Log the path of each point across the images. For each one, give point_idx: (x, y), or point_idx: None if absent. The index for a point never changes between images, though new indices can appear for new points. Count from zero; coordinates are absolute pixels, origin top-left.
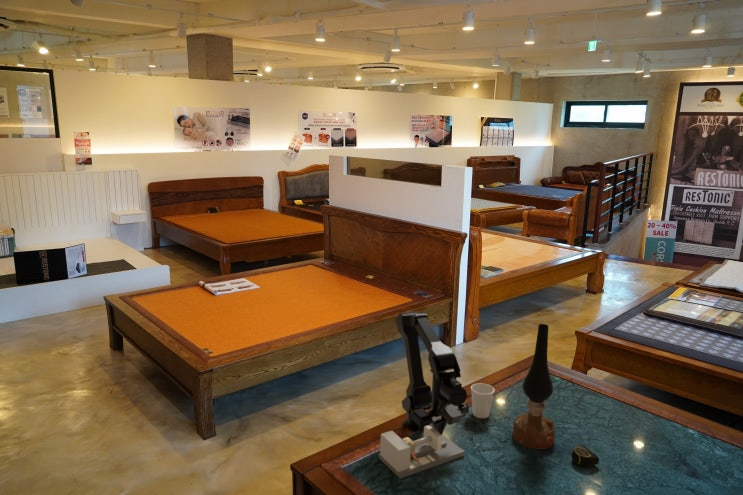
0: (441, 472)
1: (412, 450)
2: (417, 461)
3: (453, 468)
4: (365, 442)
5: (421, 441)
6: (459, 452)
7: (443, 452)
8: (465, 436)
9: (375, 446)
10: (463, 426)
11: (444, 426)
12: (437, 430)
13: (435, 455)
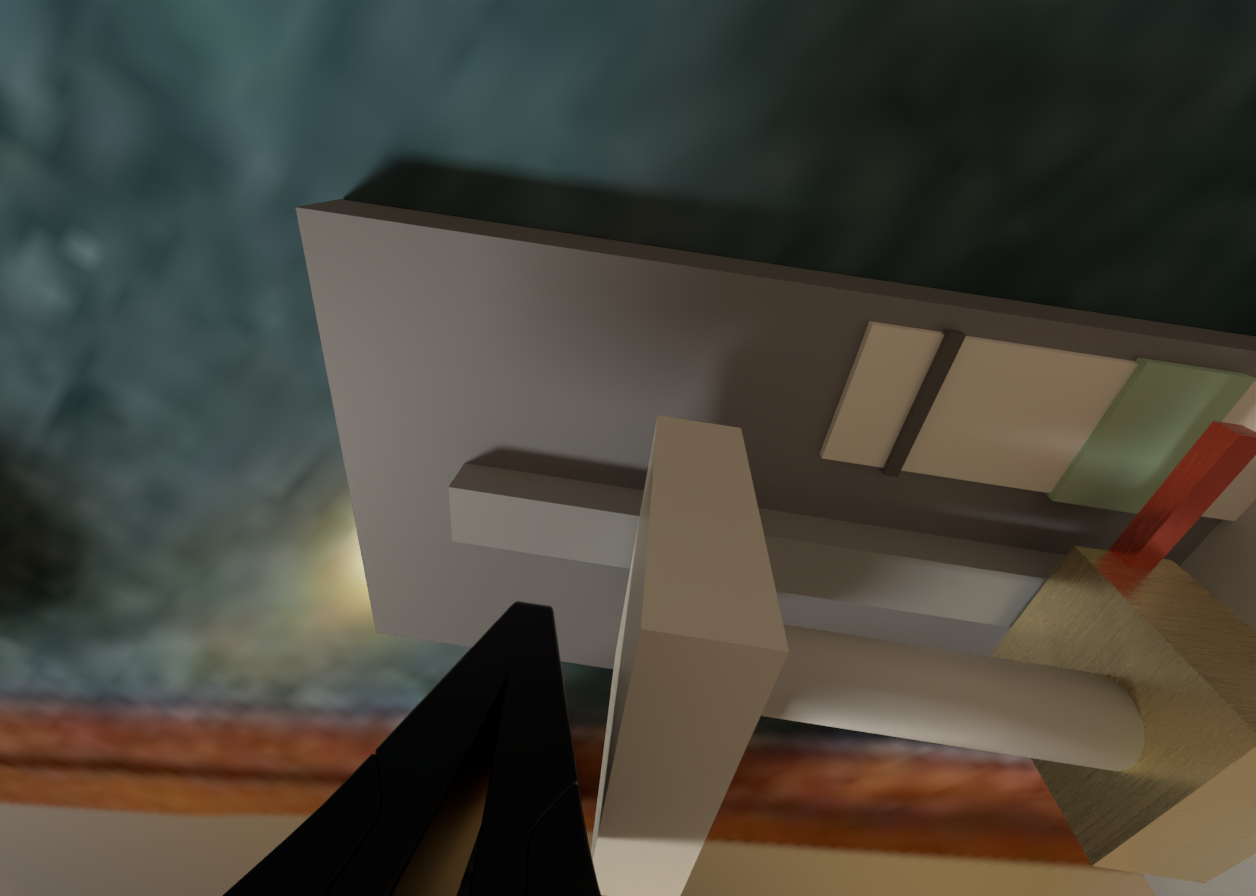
0: (951, 87)
1: (1205, 629)
2: (1242, 427)
3: (708, 39)
4: (968, 830)
5: (947, 692)
6: (391, 237)
7: (608, 384)
8: (134, 469)
9: (968, 781)
10: (90, 577)
11: (375, 800)
12: (569, 756)
13: (754, 404)
